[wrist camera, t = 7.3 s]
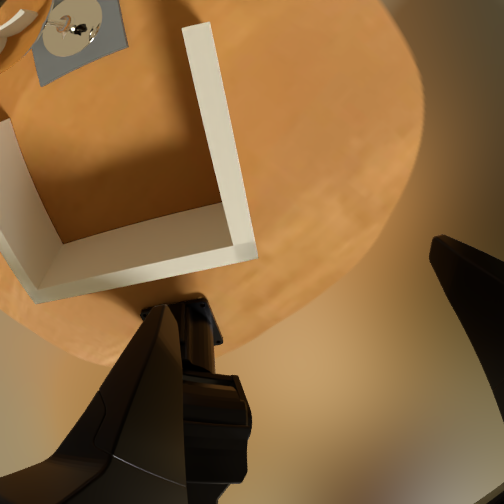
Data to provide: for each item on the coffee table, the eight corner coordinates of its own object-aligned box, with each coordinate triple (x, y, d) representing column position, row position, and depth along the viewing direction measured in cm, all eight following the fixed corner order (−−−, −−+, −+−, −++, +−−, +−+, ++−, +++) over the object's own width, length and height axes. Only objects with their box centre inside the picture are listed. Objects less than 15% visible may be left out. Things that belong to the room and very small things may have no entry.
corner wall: (247, 212, 21) (258, 258, 17) (59, 258, 21) (35, 304, 17) (210, 35, 14) (209, 21, 9) (-1, 124, 14) (-46, 149, 9)
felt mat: (128, 47, 13) (126, 46, 13) (43, 86, 13) (40, 87, 13) (112, -33, 9) (111, -35, 9) (28, 10, 9) (25, 10, 9)
